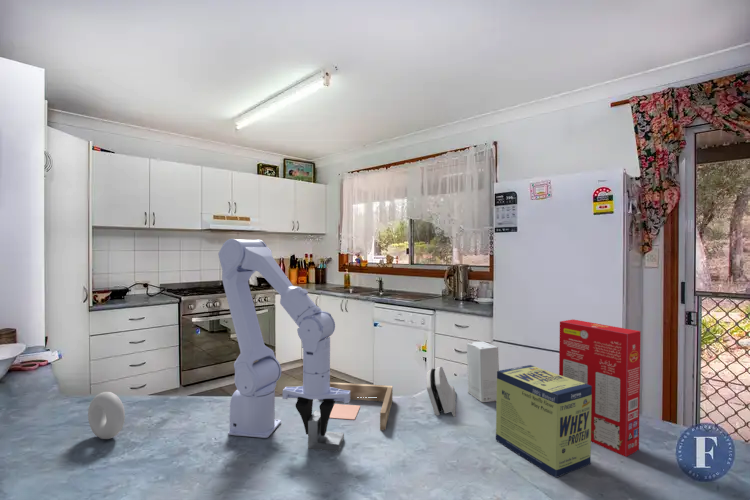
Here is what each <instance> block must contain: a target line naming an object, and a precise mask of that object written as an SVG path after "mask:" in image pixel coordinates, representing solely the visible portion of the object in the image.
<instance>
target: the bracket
mask: <svg viewBox="0 0 750 500" xmlns="http://www.w3.org/2000/svg"><path fill="white" fill-rule="evenodd" d="M320 431H321V415H320V410H314V412H312V416H311V417H310V419H309V420H308V435H307V449H308V450H314V451H315V450H317V451H326V452H339V451H340V449H341V447H342V444H343V442H344V439H345V432H339V431H328V430H327V431H326V433H325V435H324V436H321V432H320Z"/></svg>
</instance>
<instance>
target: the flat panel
mask: <svg viewBox="0 0 750 500" xmlns="http://www.w3.org/2000/svg"><path fill="white" fill-rule="evenodd" d="M360 408H361V405H355V404H341V403H335V404H334V406H333V409H332V411H331V414H330V417H329V419H335V420H337V419H338V420H339V419H340V420H351V421H352V420H353V421H355V420H356V418H357V416H358V413H359V411H360Z"/></svg>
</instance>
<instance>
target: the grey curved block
mask: <svg viewBox="0 0 750 500" xmlns="http://www.w3.org/2000/svg"><path fill="white" fill-rule="evenodd" d="M425 377H426V382H425V383H426V390H427V395H428V397H429V401H430V403H431V407H432V409H433V412H434V415H435V416H440V414H441V413H444V414H447V413H451V414H452V416H453V417H456V402H457V401H455V400H456V395H457V394H456V393H457V392H456V390H455V388H454V386H453V385H451V384H449V381H448V379H447V375H446V373H445V370H444V368H443V366H438V367H435V368H433V367H432V368H431V369H429V370H428V371H427V372H426V376H425Z"/></svg>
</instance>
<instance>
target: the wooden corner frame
mask: <svg viewBox="0 0 750 500" xmlns="http://www.w3.org/2000/svg"><path fill="white" fill-rule="evenodd" d="M330 387H333V388H337V389H342V390H348V391H350V400H355V401H368V402H371V401H372V402H382V406H381V409H380V412H379V430H380V431H386V428H387V424H388V421H389V417H390V412H391V408H392V403H393V392H394V391H393V387H394V386H393V385H385V384H384V385H382V384H378V385H377V384H366V383H350V382H335V381H334V382H333V381H330ZM357 397H359V398H357ZM360 397H362V398H360ZM363 397H364V398H363ZM365 397H367V398H365ZM368 397H377V398H368Z"/></svg>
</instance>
